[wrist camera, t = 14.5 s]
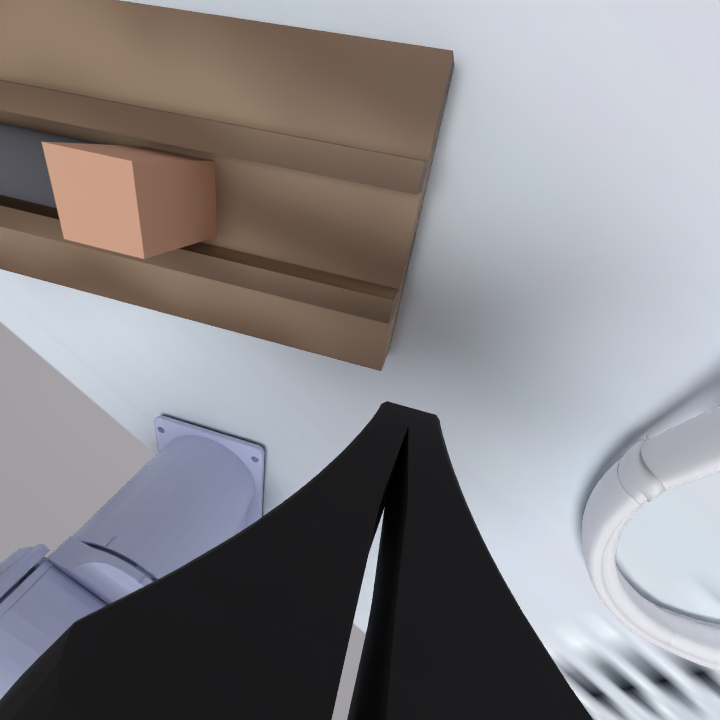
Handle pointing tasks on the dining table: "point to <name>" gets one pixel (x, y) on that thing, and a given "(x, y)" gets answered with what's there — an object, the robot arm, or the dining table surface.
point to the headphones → (616, 507)
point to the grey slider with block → (112, 190)
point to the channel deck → (236, 162)
